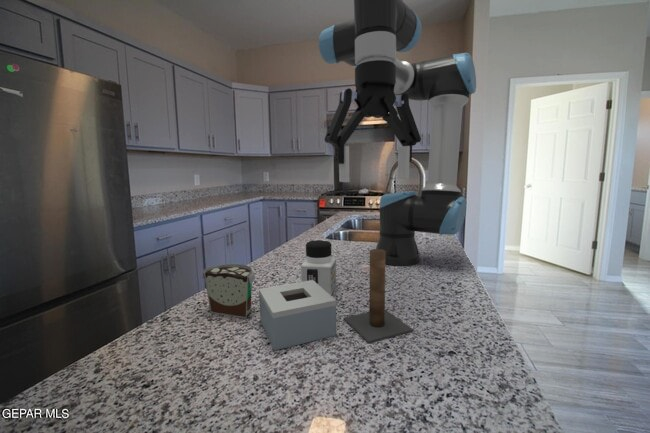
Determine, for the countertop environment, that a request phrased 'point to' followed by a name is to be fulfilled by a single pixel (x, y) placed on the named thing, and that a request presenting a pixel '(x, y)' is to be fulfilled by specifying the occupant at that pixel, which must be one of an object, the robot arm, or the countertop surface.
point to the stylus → (377, 288)
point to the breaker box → (297, 313)
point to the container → (319, 265)
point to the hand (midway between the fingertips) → (375, 180)
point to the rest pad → (377, 333)
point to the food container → (229, 289)
